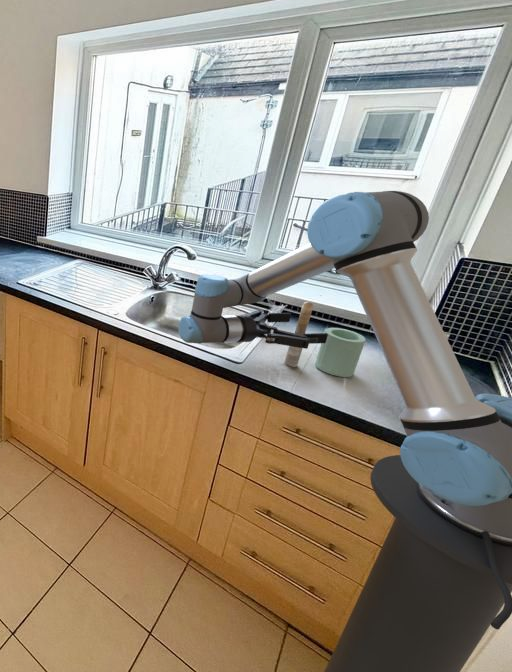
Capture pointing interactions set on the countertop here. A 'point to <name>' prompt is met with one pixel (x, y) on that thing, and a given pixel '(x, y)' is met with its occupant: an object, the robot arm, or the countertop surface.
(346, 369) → the mint green pipe segment
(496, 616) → the robot arm
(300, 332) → the brush
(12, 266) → the countertop surface
